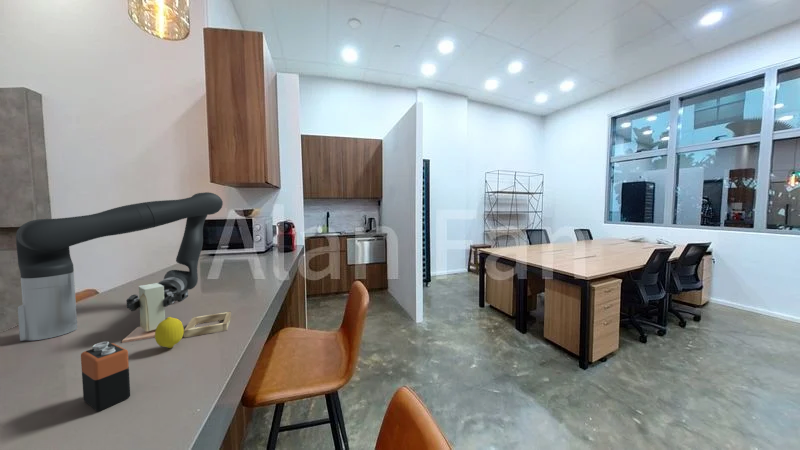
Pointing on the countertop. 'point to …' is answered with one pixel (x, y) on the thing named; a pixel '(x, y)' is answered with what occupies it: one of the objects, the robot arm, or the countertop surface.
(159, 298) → the skincare box
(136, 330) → the terracotta tile
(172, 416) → the countertop surface
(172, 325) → the lemon
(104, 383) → the battery
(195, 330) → the square wooden frame
